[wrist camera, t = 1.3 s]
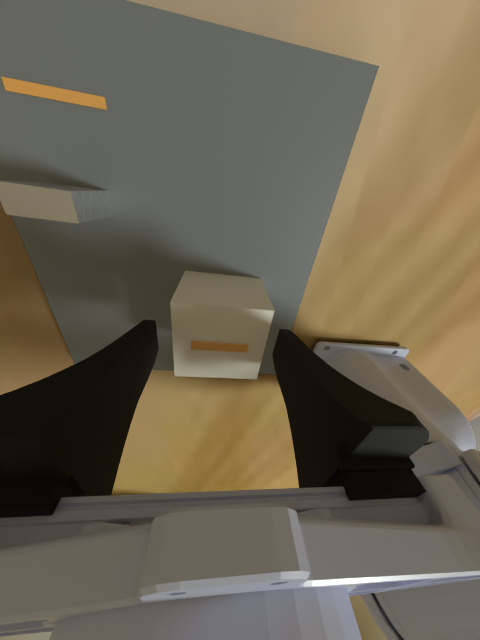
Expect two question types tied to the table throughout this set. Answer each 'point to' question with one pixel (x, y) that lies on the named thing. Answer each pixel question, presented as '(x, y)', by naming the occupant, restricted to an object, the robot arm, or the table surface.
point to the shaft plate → (166, 159)
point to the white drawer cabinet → (219, 325)
